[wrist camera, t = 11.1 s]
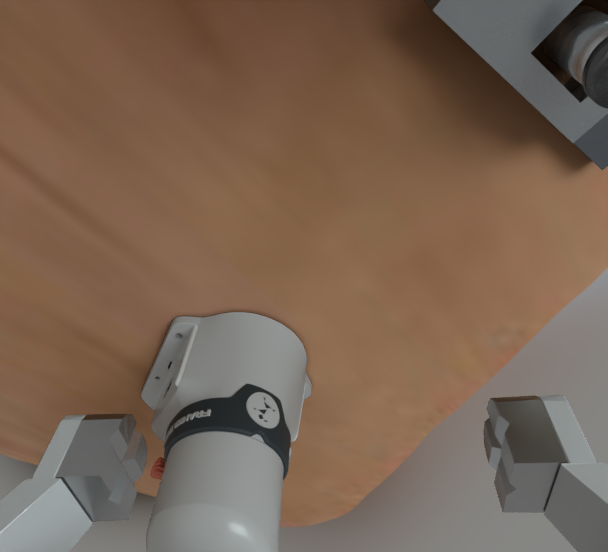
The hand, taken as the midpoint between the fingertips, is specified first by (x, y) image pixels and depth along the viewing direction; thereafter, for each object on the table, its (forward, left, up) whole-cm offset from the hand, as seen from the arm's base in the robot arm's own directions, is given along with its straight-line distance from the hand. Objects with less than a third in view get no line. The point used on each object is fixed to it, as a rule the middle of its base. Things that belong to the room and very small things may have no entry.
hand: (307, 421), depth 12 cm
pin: (+12, -14, -34) cm, 39 cm away
